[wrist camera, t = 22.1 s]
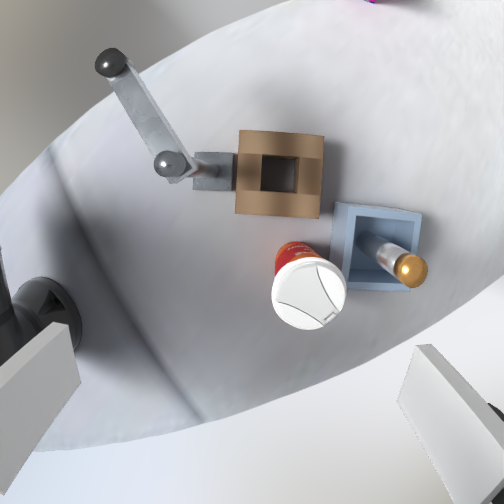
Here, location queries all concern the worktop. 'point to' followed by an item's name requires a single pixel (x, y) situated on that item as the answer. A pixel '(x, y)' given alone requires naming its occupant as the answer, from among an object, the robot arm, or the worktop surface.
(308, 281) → the paper cup
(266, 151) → the socket block
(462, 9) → the worktop surface
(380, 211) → the blue open box
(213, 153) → the base
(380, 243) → the pin
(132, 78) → the grey tall angled piece
